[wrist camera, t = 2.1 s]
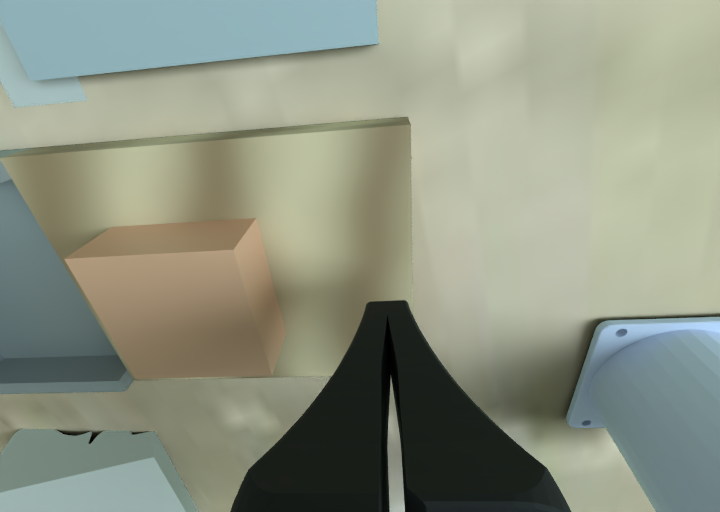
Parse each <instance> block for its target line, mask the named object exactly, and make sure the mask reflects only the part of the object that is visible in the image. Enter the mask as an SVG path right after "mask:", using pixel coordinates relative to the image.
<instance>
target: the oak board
mask: <svg viewBox="0 0 720 512" xmlns="http://www.w3.org/2000/svg"><path fill="white" fill-rule="evenodd" d="M0 160H1V162H2V164H3V165H4V167H5V169H6V170H7V172H8V174H9V175H10V177H11V179H12V180H13V182H14V184H15V185H16V187H17V189H18V190H19V192H20V194H21V195H22V197H23V199H24V200H25V202H26V204H27V205H28V207H29V208H30V210H31V212H32V213H33V215H34V217H35V218H36V220H37V222H38V223H39V225H40V227H41V228H42V230H43V232H44V233H45V235H46V237H47V238H48V240H49V242H50V243H51V245H52V247H53V248H54V250H55V252H56V253H57V255H58V257H59V258H60V260H61V261H62V263H63V265H64V266H65V268H66V270H67V271H68V273H69V275H70V276H71V278H72V280H73V281H74V283H75V285H76V286H77V288H78V290H79V291H80V293H81V295H82V296H83V298H84V300H85V301H86V303H87V305H88V306H89V308H90V310H91V311H92V313H93V315H94V316H95V318H96V319H97V321H98V323H99V324H100V326H101V328H102V329H103V331H104V333H105V334H106V336H107V338H108V339H109V341H110V343H111V344H112V346H113V348H114V349H115V351H116V353H117V354H118V356H119V358H120V359H121V361H122V363H123V364H124V366H125V368H126V369H127V371H128V373H129V374H130V376H131V377H132V379H133V381H134V380H178V379H222V378H266V377H310V376H332V375H333V374H334V372H335V371H336V369H337V368H338V366H339V364H340V362H341V361H342V359H343V357H344V355H345V354H346V352H347V350H348V348H349V346H350V344H351V342H352V340H353V338H354V336H355V334H356V332H357V330H358V327H359V325H360V322H361V320H362V317H363V314H364V311H365V307H366V304H367V303H368V302H372V301H395V300H405V301H407V302H408V304H409V307H410V310H411V312H412V315H413V274H412V194H411V124H410V122H409V119H408V117H401V118H389V119H377V120H365V121H353V122H341V123H329V124H317V125H305V126H293V127H281V128H269V129H257V130H244V131H232V132H220V133H208V134H196V135H184V136H172V137H160V138H148V139H136V140H124V141H112V142H100V143H88V144H75V145H63V146H51V147H39V148H32V149H28V150H25V151H21V152H18V153H14V154H11V155H8V156H4V157H1V158H0ZM249 218H256V219H257V223H258V227H259V231H260V235H261V238H262V242H263V246H264V250H265V254H266V258H267V262H268V266H269V270H270V274H271V277H272V281H273V285H274V289H275V293H276V297H277V301H278V305H279V309H280V313H281V316H282V320H283V324H284V328H285V332H286V335H285V338H284V341H283V344H282V347H281V350H280V353H279V356H278V359H277V362H276V365H275V369H274V372H273V375H272V376H236V377H192V378H149V379H135V377H134V375H133V374H132V372H131V370H130V369H129V367H128V365H127V364H126V362H125V360H124V359H123V357H122V355H121V354H120V352H119V350H118V349H117V347H116V345H115V344H114V342H113V340H112V339H111V337H110V335H109V334H108V332H107V330H106V328H105V327H104V325H103V323H102V322H101V320H100V318H99V317H98V315H97V313H96V312H95V310H94V308H93V307H92V305H91V303H90V302H89V300H88V298H87V297H86V295H85V293H84V292H83V290H82V288H81V287H80V285H79V283H78V282H77V280H76V278H75V277H74V275H73V273H72V272H71V270H70V268H69V266H68V265H67V263H66V261H65V260H64V259H65V258H66V257H68V256H69V255H71V254H72V253H74V252H75V251H77V250H78V249H80V248H81V247H83V246H84V245H86V244H87V243H88V242H90V241H91V240H93V239H94V238H96V237H97V236H99V235H100V234H102V233H103V232H105V231H106V230H108V229H109V228H111V227H119V226H135V225H151V224H167V223H184V222H200V221H216V220H233V219H249Z"/></svg>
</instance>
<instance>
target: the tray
mask: <svg viewBox="0 0 720 512" xmlns="http://www.w3.org/2000/svg"><path fill="white" fill-rule="evenodd" d="M28 149H32V148H27V149H15V150H3V151H0V158H1V157H4V156H8V155H11V154H14V153H18V152H21V151H25V150H28ZM132 382H133V379H132V377H131V376H130V374H129V373H128V371H127V369H126V368H125V366H124V364H123V363H122V361H121V359H120V358H119V356H118V354H117V353H116V351H115V349H114V348H113V346H112V344H111V343H110V341H109V339H108V338H107V336H106V334H105V333H104V331H103V329H102V328H101V326H100V324H99V323H98V321H97V319H96V318H95V316H94V315H93V313H92V311H91V310H90V308H89V306H88V305H87V303H86V301H85V300H84V298H83V296H82V295H81V293H80V291H79V290H78V288H77V286H76V285H75V283H74V281H73V280H72V278H71V276H70V275H69V273H68V271H67V270H66V268H65V266H64V265H63V263H62V261H61V260H60V258H59V257H58V255H57V253H56V252H55V250H54V248H53V247H52V245H51V243H50V242H49V240H48V238H47V237H46V235H45V233H44V232H43V230H42V228H41V227H40V225H39V223H38V222H37V220H36V218H35V217H34V215H33V213H32V212H31V210H30V208H29V207H28V205H27V204H26V202H25V200H24V199H23V197H22V195H21V194H20V192H19V190H18V189H17V187H16V185H15V184H14V182H13V180H12V179H11V177H10V175H9V174H8V172H7V170H6V169H5V167H4V165H3V164H2V162H1V160H0V394H22V393H72V392H122V391H126V390H127V388H128V387H129V386H130V384H131V383H132Z"/></svg>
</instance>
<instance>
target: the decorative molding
mask: <svg viewBox="0 0 720 512" xmlns="http://www.w3.org/2000/svg"><path fill="white" fill-rule="evenodd" d="M91 436H92V431H90V432H88V433H85V434H82V435H77V436H72V435H64V434H62V433H61V432H59V431H57V430H53V429H20V430H18V431H17V432H16V433H15V434H14V435H13V436H12V437H11V439H10V440H9V442H8V443H7V445H6V446H5V448H4V449H3V451H2V452H1V454H0V512H199V511H198V509H197V507H196V505H195V504H194V502H193V500H192V498H191V496H190V494H189V493H188V491H187V489H186V487H185V485H184V484H183V482H182V480H181V478H180V476H179V474H178V473H177V471H176V469H175V467H174V465H173V463H172V462H171V460H170V458H169V456H168V454H167V453H166V451H165V449H164V447H163V445H162V443H161V442H160V440H159V438H158V436H157V434H156V432H145V433H140V434H135V435H133V433H132V432H131V431H103V432H102V433H100V434H99V435H98V436H97V437H96V438H95V439H94V440H93V442H92V443H91V444H89V441H90V438H91Z"/></svg>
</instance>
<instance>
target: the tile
mask: <svg viewBox="0 0 720 512" xmlns="http://www.w3.org/2000/svg"><path fill="white" fill-rule="evenodd" d="M64 260H65V261H66V263H67V265H68V266H69V268H70V270H71V272H72V273H73V275H74V277H75V278H76V280H77V282H78V283H79V285H80V287H81V288H82V290H83V292H84V293H85V295H86V297H87V298H88V300H89V302H90V303H91V305H92V307H93V308H94V310H95V312H96V313H97V315H98V317H99V318H100V320H101V322H102V323H103V325H104V327H105V328H106V330H107V332H108V334H109V335H110V337H111V339H112V340H113V342H114V344H115V345H116V347H117V349H118V350H119V352H120V354H121V355H122V357H123V359H124V360H125V362H126V364H127V365H128V367H129V369H130V370H131V372H132V374H133V375H134V377H135V379H149V378H192V377H236V376H272V375H273V372H274V369H275V365H276V362H277V359H278V356H279V353H280V350H281V347H282V344H283V341H284V338H285V335H286V332H285V328H284V324H283V320H282V316H281V313H280V309H279V305H278V301H277V297H276V293H275V289H274V285H273V281H272V277H271V274H270V270H269V266H268V262H267V258H266V254H265V250H264V246H263V242H262V238H261V235H260V231H259V227H258V223H257V219H256V218H249V219H233V220H216V221H200V222H184V223H167V224H151V225H135V226H119V227H111V228H109V229H108V230H106V231H105V232H103V233H102V234H100V235H99V236H97V237H96V238H94V239H93V240H91V241H90V242H88V243H87V244H86V245H84V246H83V247H81V248H80V249H78V250H77V251H75V252H74V253H72V254H71V255H69V256H68V257H66V258H65V259H64Z"/></svg>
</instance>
